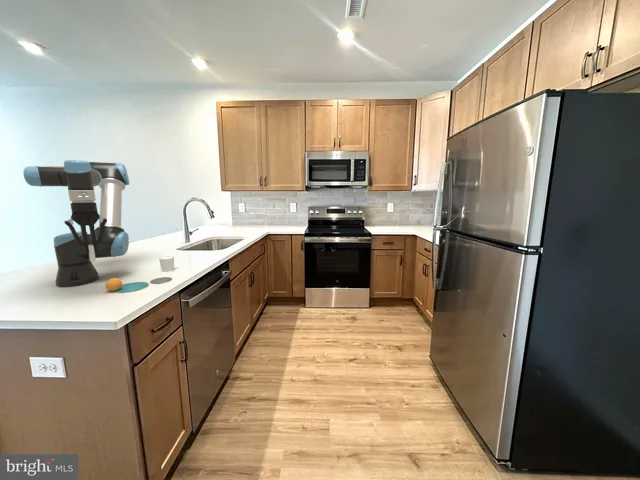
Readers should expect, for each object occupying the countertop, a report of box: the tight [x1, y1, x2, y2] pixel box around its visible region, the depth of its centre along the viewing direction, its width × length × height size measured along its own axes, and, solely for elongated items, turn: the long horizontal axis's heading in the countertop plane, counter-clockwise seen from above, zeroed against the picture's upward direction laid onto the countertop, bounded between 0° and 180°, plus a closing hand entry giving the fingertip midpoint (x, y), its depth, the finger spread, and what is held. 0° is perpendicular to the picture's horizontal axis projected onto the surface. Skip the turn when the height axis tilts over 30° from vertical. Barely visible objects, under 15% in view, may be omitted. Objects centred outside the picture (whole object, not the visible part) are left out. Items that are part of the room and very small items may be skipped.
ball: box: [105, 277, 123, 292], centre depth 114 cm, size 6×6×6 cm
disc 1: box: [112, 281, 149, 294], centre depth 118 cm, size 13×13×1 cm
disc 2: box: [149, 276, 173, 285], centre depth 127 cm, size 9×9×1 cm
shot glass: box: [158, 256, 175, 273], centre depth 143 cm, size 7×7×7 cm
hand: (92, 260), depth 107 cm, fingers closed
